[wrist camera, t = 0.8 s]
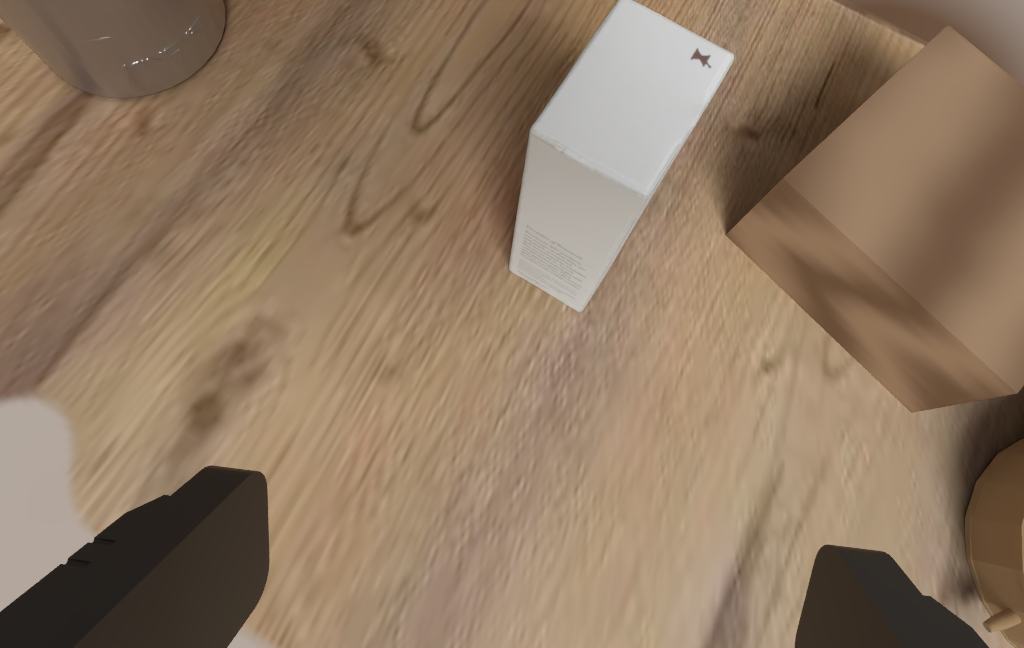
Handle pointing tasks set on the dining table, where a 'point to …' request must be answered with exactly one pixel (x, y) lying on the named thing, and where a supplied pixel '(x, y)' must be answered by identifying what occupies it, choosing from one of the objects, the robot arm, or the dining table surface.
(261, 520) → the robot arm
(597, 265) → the skincare box
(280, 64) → the dining table surface
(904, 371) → the walnut block
